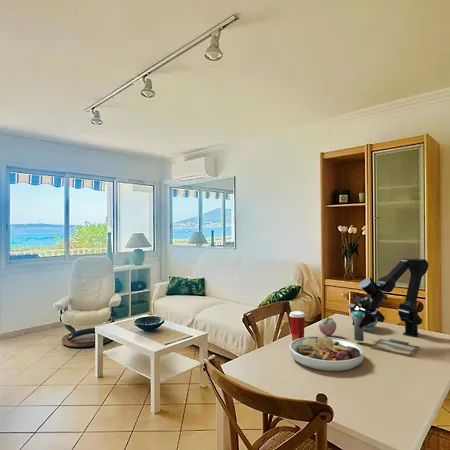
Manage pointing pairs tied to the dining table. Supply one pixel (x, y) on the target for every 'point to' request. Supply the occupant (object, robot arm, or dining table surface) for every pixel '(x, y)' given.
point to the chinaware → (367, 327)
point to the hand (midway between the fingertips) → (356, 326)
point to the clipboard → (396, 347)
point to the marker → (358, 331)
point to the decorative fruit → (327, 326)
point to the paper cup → (297, 324)
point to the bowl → (326, 353)
